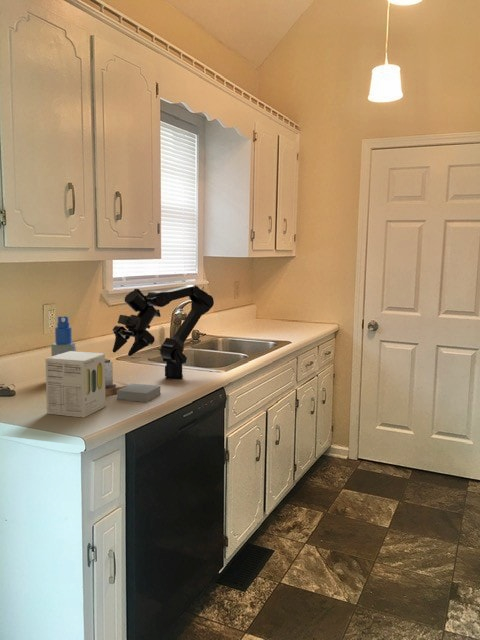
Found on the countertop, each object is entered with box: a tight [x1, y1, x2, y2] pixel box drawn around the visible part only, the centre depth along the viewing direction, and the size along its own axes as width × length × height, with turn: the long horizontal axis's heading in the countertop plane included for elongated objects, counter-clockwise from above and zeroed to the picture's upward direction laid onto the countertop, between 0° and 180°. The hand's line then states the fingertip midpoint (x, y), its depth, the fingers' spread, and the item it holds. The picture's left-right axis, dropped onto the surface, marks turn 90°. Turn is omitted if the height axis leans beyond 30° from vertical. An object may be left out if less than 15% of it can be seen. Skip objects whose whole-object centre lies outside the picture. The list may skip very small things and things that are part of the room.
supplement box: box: [45, 350, 106, 419], centre depth 167 cm, size 13×13×18 cm
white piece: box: [105, 358, 114, 386], centre depth 189 cm, size 4×4×9 cm
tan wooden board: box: [105, 380, 129, 397], centre depth 191 cm, size 12×8×3 cm, turn 139°
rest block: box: [116, 382, 161, 403], centre depth 185 cm, size 11×11×3 cm
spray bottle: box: [50, 315, 77, 357], centre depth 205 cm, size 9×9×25 cm
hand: (121, 353), depth 194 cm, fingers open, 9 cm apart
